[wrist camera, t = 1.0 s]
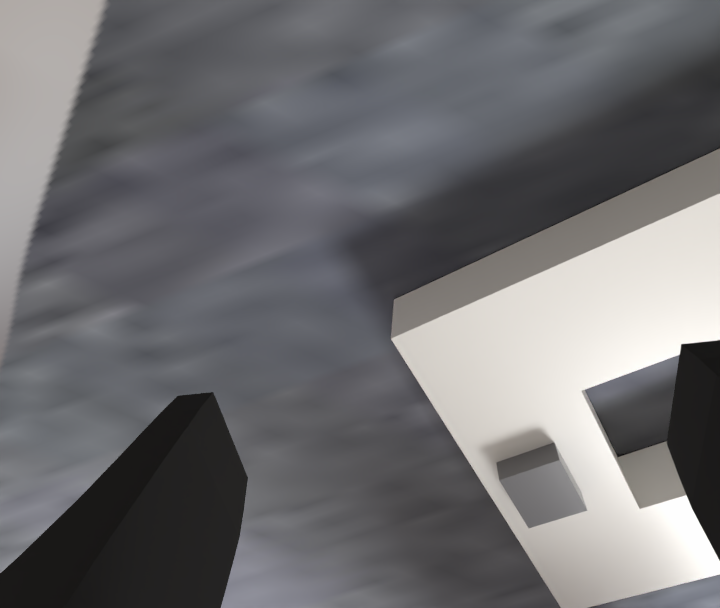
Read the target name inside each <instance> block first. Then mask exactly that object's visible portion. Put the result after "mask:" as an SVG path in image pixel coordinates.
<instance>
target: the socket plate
mask: <svg viewBox="0 0 720 608" xmlns="http://www.w3.org/2000/svg"><path fill="white" fill-rule="evenodd" d="M391 340H392V341H393V343H394V344H395V346H396V348H397V349H398V351H399V352H400V354H401V356H402V357H403V359H404V360H405V362H406V363H407V365H408V367H409V368H410V370H411V371H412V373H413V375H414V376H415V378H416V379H417V381H418V382H419V384H420V386H421V387H422V389H423V390H424V392H425V393H426V395H427V397H428V398H429V400H430V401H431V403H432V405H433V406H434V408H435V409H436V411H437V412H438V414H439V416H440V417H441V419H442V420H443V422H444V424H445V425H446V427H447V428H448V430H449V431H450V433H451V435H452V436H453V438H454V439H455V441H456V443H457V444H458V446H459V447H460V449H461V450H462V452H463V454H464V455H465V457H466V458H467V460H468V462H469V463H470V465H471V466H472V468H473V469H474V471H475V473H476V474H477V476H478V477H479V479H480V481H481V482H482V484H483V485H484V487H485V488H486V490H487V492H488V493H489V495H490V496H491V498H492V499H493V501H494V503H495V504H496V506H497V507H498V509H499V511H500V512H501V514H502V515H503V517H504V518H505V520H506V522H507V523H508V525H509V526H510V528H511V530H512V531H513V533H514V534H515V536H516V537H517V539H518V541H519V542H520V544H521V545H522V547H523V549H524V550H525V552H526V553H527V555H528V556H529V558H530V560H531V561H532V563H533V564H534V566H535V568H536V569H537V571H538V572H539V574H540V575H541V577H542V579H543V580H544V582H545V583H546V585H547V587H548V588H549V590H550V591H551V593H552V594H553V596H554V598H555V599H556V601H557V602H558V604H559V605H560V607H561V608H588V607H592V606H596V605H600V604H604V603H608V602H612V601H616V600H620V599H624V598H628V597H632V596H636V595H640V594H644V593H648V592H652V591H656V590H660V589H663V588H667V587H671V586H675V585H679V584H683V583H687V582H691V581H695V580H699V579H703V578H707V577H711V576H715V575H719V574H720V561H719V559H718V557H717V555H716V553H715V551H714V549H713V548H712V546H711V544H710V542H709V540H708V538H707V536H706V534H705V532H704V531H703V529H702V527H701V525H700V523H699V521H698V519H697V517H696V515H695V513H694V512H693V510H692V508H691V505H690V503H689V500H688V498H687V496H686V493H685V491H684V488H683V486H682V483H681V481H680V478H679V475H678V473H677V470H676V467H675V465H674V462H673V459H672V457H671V454H670V451H669V448H668V446H667V441H666V442H663V443H660V444H657V445H653V446H650V447H647V448H644V449H641V450H638V451H635V452H632V453H629V454H626V455H623V456H620V457H617V455H616V453H615V451H614V449H613V447H612V445H611V443H610V440H609V438H608V436H607V434H606V432H605V430H604V428H603V426H602V424H601V422H600V420H599V418H598V416H597V414H596V412H595V410H594V408H593V406H592V404H591V402H590V400H589V398H588V396H587V394H586V392H585V389H588V388H590V387H593V386H596V385H598V384H601V383H604V382H607V381H609V380H612V379H615V378H617V377H620V376H623V375H625V374H628V373H631V372H634V371H636V370H639V369H642V368H644V367H647V366H650V365H653V364H655V363H658V362H661V361H663V360H666V359H669V358H672V357H674V356H677V355H680V349H681V344H688V343H698V342H707V341H717V340H720V149H717V150H715V151H713V152H711V153H709V154H707V155H705V156H702V157H700V158H698V159H696V160H694V161H692V162H689V163H687V164H685V165H683V166H681V167H679V168H676V169H674V170H672V171H670V172H668V173H666V174H664V175H661V176H659V177H657V178H655V179H653V180H651V181H648V182H646V183H644V184H642V185H640V186H638V187H636V188H633V189H631V190H629V191H627V192H625V193H623V194H620V195H618V196H616V197H614V198H612V199H610V200H608V201H605V202H603V203H601V204H599V205H597V206H595V207H592V208H590V209H588V210H586V211H584V212H582V213H580V214H577V215H575V216H573V217H571V218H569V219H567V220H564V221H562V222H560V223H558V224H556V225H554V226H551V227H549V228H547V229H545V230H543V231H541V232H539V233H536V234H534V235H532V236H530V237H528V238H526V239H523V240H521V241H519V242H517V243H515V244H513V245H511V246H508V247H506V248H504V249H502V250H500V251H498V252H495V253H493V254H491V255H489V256H487V257H485V258H483V259H480V260H478V261H476V262H474V263H472V264H470V265H467V266H465V267H463V268H461V269H459V270H457V271H455V272H452V273H450V274H448V275H446V276H444V277H442V278H439V279H437V280H435V281H433V282H431V283H429V284H426V285H424V286H422V287H420V288H418V289H416V290H414V291H411V292H409V293H407V294H405V295H403V296H401V297H398V298H396V299H394V305H393V318H392V331H391Z"/></svg>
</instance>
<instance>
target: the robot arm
mask: <svg viewBox="0 0 720 608" xmlns="http://www.w3.org/2000/svg"><path fill="white" fill-rule="evenodd" d="M667 446H668V448H669V451H670V454H671V457H672V459H673V462H674V465H675V467H676V470H677V473H678V475H679V478H680V481H681V483H682V486H683V488H684V491H685V493H686V496H687V498H688V500H689V503H690V505H691V508H692V510H693V512H694V513H695V515H696V517H697V519H698V521H699V523H700V525H701V527H702V529H703V531H704V532H705V534H706V536H707V538H708V540H709V542H710V544H711V546H712V548H713V549H714V551H715V553H716V555H717V557H718V559H719V561H720V340H717V341H707V342H698V343H688V344H681V349H680V356H679V363H678V370H677V377H676V384H675V390H674V397H673V404H672V411H671V418H670V425H669V431H668V438H667ZM247 479H248V477H247V475H246V472H245V470H244V467H243V465H242V462H241V460H240V458H239V455H238V453H237V450H236V448H235V445H234V443H233V440H232V438H231V435H230V433H229V430H228V428H227V425H226V423H225V420H224V418H223V415H222V413H221V411H220V408H219V406H218V403H217V401H216V398H215V396H214V393H213V392H211V393H201V394H192V395H182V396H177V397H176V398H175V399H174V400H173V401H172V402H171V403H170V404H169V405H168V406H167V407H166V408H165V409H164V410H163V411H162V412H161V413H160V414H159V415H158V416H157V417H156V418H155V419H154V420H153V422H152V423H151V424H150V425H149V426H148V427H147V428H146V429H145V430H144V431H143V432H142V433H141V434H140V435H139V436H138V437H137V438H136V440H135V441H134V442H133V443H132V444H131V445H130V446H129V447H128V448H127V449H126V450H125V451H124V452H123V453H122V454H121V455H120V456H119V457H118V459H117V460H116V461H115V462H114V463H113V464H112V465H111V466H110V467H109V468H108V469H107V470H106V471H105V472H104V473H103V474H102V475H101V476H100V477H99V478H98V479H97V480H96V481H95V482H94V483H93V485H92V486H91V487H90V488H89V489H88V490H87V491H86V492H85V493H84V494H83V495H82V496H81V497H80V498H79V499H78V500H77V501H76V502H75V503H74V504H73V505H72V506H71V507H70V508H69V509H68V510H67V511H66V512H65V513H64V514H63V515H61V516H60V517H59V518H58V519H57V520H56V521H55V522H54V523H53V524H52V525H51V526H50V527H49V528H48V529H47V530H46V531H45V532H44V533H43V534H42V535H41V536H40V537H39V538H38V539H37V540H36V541H35V542H34V543H33V544H32V545H30V546H29V547H28V548H27V549H26V550H25V551H24V552H23V553H22V554H21V555H20V556H19V557H18V558H17V559H16V560H15V561H14V562H13V563H11V564H10V565H9V566H8V567H7V568H6V569H5V570H4V571H3V572H2V573H0V608H221V604H222V601H223V597H224V593H225V590H226V586H227V582H228V579H229V575H230V571H231V567H232V564H233V560H234V556H235V552H236V548H237V544H238V540H239V536H240V530H241V523H242V517H243V511H244V503H245V495H246V487H247Z"/></svg>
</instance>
